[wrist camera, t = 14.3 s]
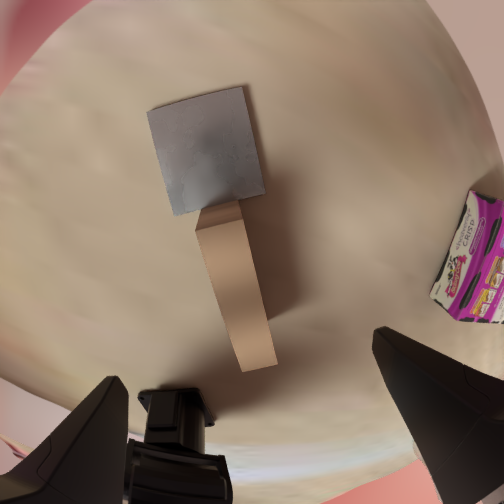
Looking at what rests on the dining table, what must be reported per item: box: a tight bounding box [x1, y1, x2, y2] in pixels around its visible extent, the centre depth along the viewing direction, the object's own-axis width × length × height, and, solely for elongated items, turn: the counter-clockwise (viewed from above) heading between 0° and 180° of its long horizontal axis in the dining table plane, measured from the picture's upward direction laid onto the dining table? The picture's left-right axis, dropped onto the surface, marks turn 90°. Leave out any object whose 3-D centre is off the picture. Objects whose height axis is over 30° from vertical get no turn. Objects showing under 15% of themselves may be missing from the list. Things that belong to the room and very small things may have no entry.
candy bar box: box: [429, 190, 504, 324], centre depth 21 cm, size 11×5×16 cm
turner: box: [147, 87, 278, 372], centre depth 17 cm, size 17×6×5 cm, turn 12°
